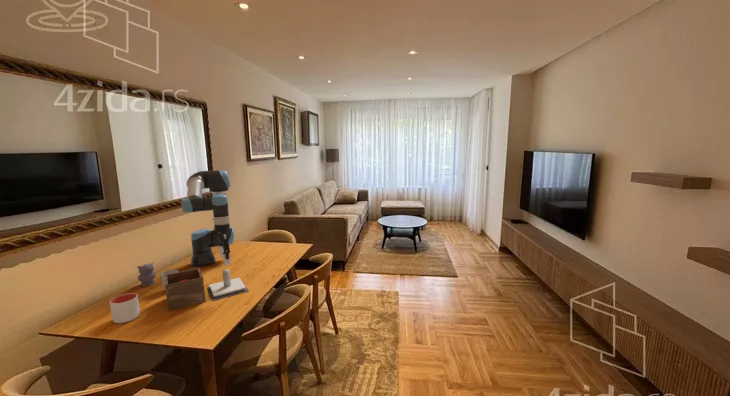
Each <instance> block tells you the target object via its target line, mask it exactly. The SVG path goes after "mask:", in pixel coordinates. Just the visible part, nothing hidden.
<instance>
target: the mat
mask: <svg viewBox="0 0 730 396" xmlns="http://www.w3.org/2000/svg"><path fill="white" fill-rule="evenodd" d="M241 281H242V282H243V279H241ZM243 284H244V285H245V283H244V282H243ZM245 287H246V289H243V290H241V291H237V292H233V293H229V294H225V295H221V296H218V297H217V296H215V297H214V296H213V293H212V291H211V288H210V286H207V287H206V288H207V290H208V293H209V295H210V297H211V298H210V299H211V301H212V302H213V301H217V300H221V299H225V298H230V297H232V296H236V295H240V294H244V293H247V292H250V290H249V289H248V288H247V286H246V285H245Z"/></svg>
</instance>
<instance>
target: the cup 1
mask: <svg viewBox="0 0 730 396" xmlns="http://www.w3.org/2000/svg"><path fill="white" fill-rule="evenodd" d="M138 296H139V295H138V294H137V293H135V292H134V293H132V292H131V293H124V294H120V295H118V296H115V297H113V298H112V299H110V300H109V305H110V312H111V319H112V322H113V323H115V324H124V323H129V322H131V321H133V320H135V319H136V318H138V317H139V316H140V314H141V309H140V301H139V297H138Z"/></svg>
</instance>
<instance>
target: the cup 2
mask: <svg viewBox="0 0 730 396" xmlns="http://www.w3.org/2000/svg"><path fill="white" fill-rule="evenodd" d="M177 272H179V270H177V269H169V270H165V271H162V272H161V273H160V278H161V279H160V280H161V283H162V285H163V288H164V290H165V291H166V288H165V275H167V274H172V273H177Z"/></svg>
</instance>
